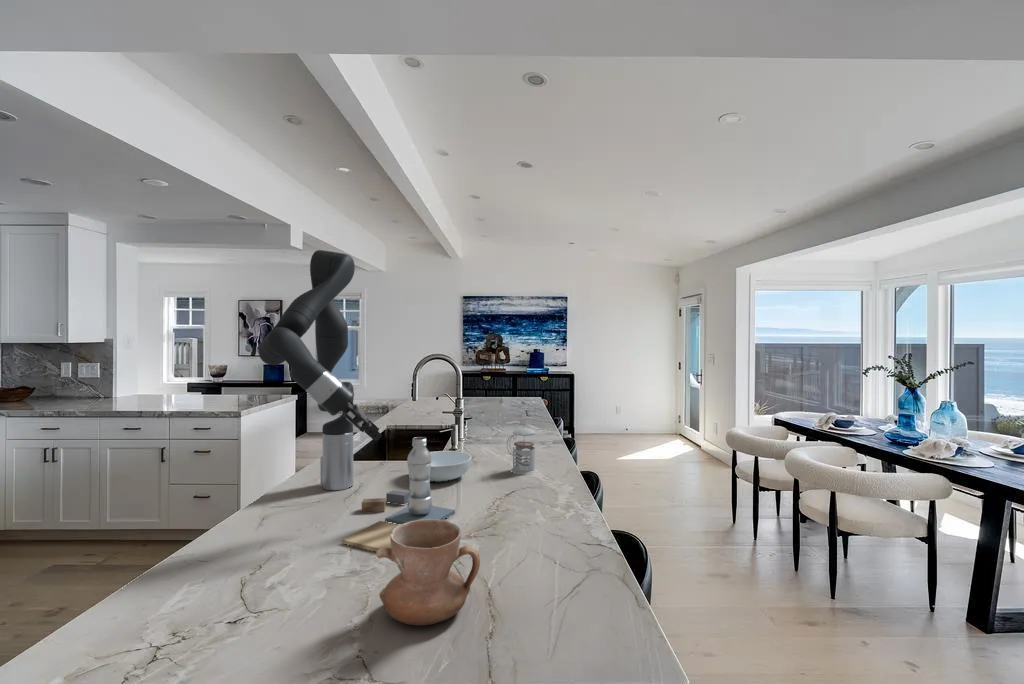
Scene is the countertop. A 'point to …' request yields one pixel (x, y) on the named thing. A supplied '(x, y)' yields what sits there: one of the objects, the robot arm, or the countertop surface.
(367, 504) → the walnut brick
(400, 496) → the charcoal brick
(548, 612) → the countertop surface
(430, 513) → the slate mat
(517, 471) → the french press
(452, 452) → the serving bowl
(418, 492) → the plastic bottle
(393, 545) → the ceramic jug
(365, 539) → the oak mat
